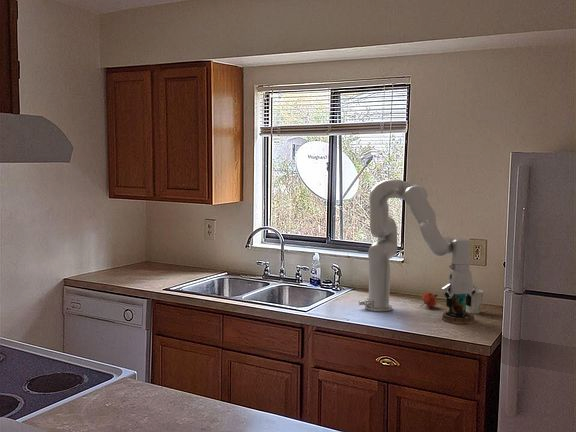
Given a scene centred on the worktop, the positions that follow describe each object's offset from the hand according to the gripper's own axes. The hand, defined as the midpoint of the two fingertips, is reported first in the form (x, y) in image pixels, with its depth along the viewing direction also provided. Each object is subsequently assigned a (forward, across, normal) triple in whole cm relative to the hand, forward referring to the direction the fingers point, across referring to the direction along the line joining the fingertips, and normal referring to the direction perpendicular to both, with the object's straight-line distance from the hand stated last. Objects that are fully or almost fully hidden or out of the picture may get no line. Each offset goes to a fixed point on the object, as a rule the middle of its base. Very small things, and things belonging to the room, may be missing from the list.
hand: (458, 306), depth 276 cm
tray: (+6, 0, 0) cm, 6 cm away
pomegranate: (+6, 0, +24) cm, 24 cm away
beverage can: (+5, 0, +1) cm, 6 cm away
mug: (+6, +14, +12) cm, 19 cm away
